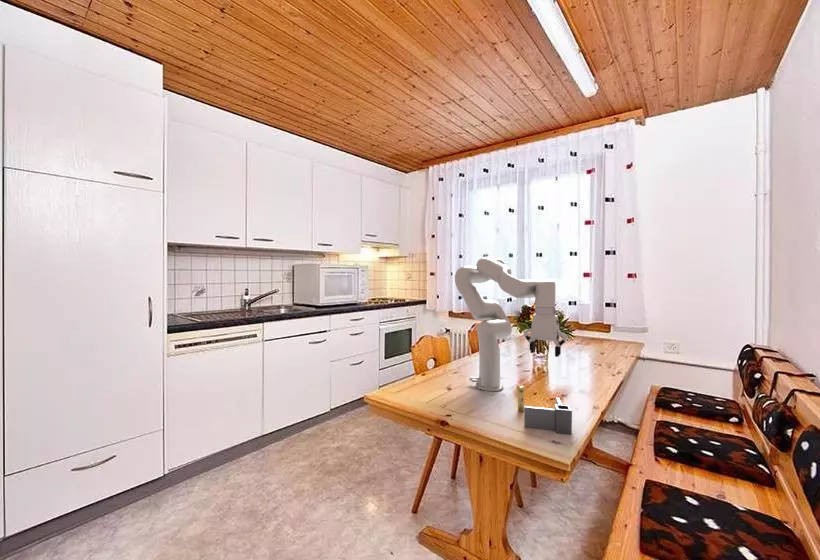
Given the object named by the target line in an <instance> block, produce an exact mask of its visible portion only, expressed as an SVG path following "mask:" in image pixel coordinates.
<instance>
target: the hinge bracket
mask: <svg viewBox="0 0 820 560" xmlns="http://www.w3.org/2000/svg"><path fill="white" fill-rule="evenodd" d="M523 413H524V414H523V415H524V418H523V419H524V421H523V422H524V423H523V424H524V425H523V427H524V428H526V429H527V428H529V429H537V430H544V431H545V430H546V431H547V430H548V431H555V433H556V434H562V435H572V434H573V425H572V424H573V410H572V408H571V406H570V404H569V405H567V404H563V403H562V400H561V399H560V397H555V403H554V406H553V408H549V407H539V406H529V405H524V412H523Z"/></svg>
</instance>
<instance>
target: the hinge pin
mask: <svg viewBox="0 0 820 560" xmlns="http://www.w3.org/2000/svg"><path fill="white" fill-rule="evenodd" d="M515 388H516V390H517V412H519V413H524V406H525V391H526V389H527V388H526V385H522V384H518V385H516V387H515Z"/></svg>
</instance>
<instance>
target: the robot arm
mask: <svg viewBox="0 0 820 560" xmlns="http://www.w3.org/2000/svg"><path fill="white" fill-rule="evenodd" d="M491 280H492V281H494V282H496V283H497V284H498V286H499V288H500V289H501V291H503V292H504V293H506V294H508V295H509V296H512V297H514V298H517V299H530V298H535V301H534V314H533V315H532V319H531V328H527V329H526V330H523V332H522V333H523V335H524V337H525V339H526V340H527V343H528V344H529V351H530V354H533V353H535V352H536V342H535V341H536V340H540V341H546V342H553V343H554V344H555V347H554V357H556V358H558V357H559V356H560V355H561V352H562V351H561V349H562V347H561V346H563V345H564V344H565V343H566V342H567V339H568V338H569V335H567V334H565V333H564V332H562V331H561V330H560V323H559V321H560V320H559V317H558V315H557V314H559V313H560V309H557V306H556V287H557V286H556V283H555V281H553V280H539V279H519V278H516V277H514V276H513V275H512V270H511V267H509V266H507V265H506V263H505V260H504V259H502V258H500V257H495V256H484V257H481V258H479V259H478V260H477V262H476V265H464V266H461V267H459V268H458V269H457V270H456V272H455V274H454V284H455V286H456V289H457V291H458V293H459V294H460V295H461V296H462V298H463V301H464V303H465V304H466V307H467V308H468V310H469V313H470V315H471V316H472V318H473V319H474V320H476V321H481V322H480V323H479V324H477V327H476V328H477V329H476V333H477V338H478V339H477V340H478V349H479V350H478V354H479V357H478V358H479V360H478V362H479V363H478V367H479V368H478V371H479V373H478V376H476V377H475V376H469V381H471V383H475V387H476V388H477V389H478V390H480V389H481V391H485V392H499V391H500V392H501V391H502V390H503V389H504V384H503V383H501V347H500V345H499V343H498V340H502V339H506V338H509V337H510V335H512V332H513V331H512V330H513V328H512V325H511V322H510V319H509V318H508V316H507V315H506V313H505V310H504V309H503V307H502V306H501V304H500V303H499V302H498V301H496V300H494V299H485V298H483V296H482V293H481V292H480V290H479V289H478V287H476V286H474V284H481V283H486V282H488V281H491ZM529 333H530V335H529ZM560 337H562V339H561V340H560Z"/></svg>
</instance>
